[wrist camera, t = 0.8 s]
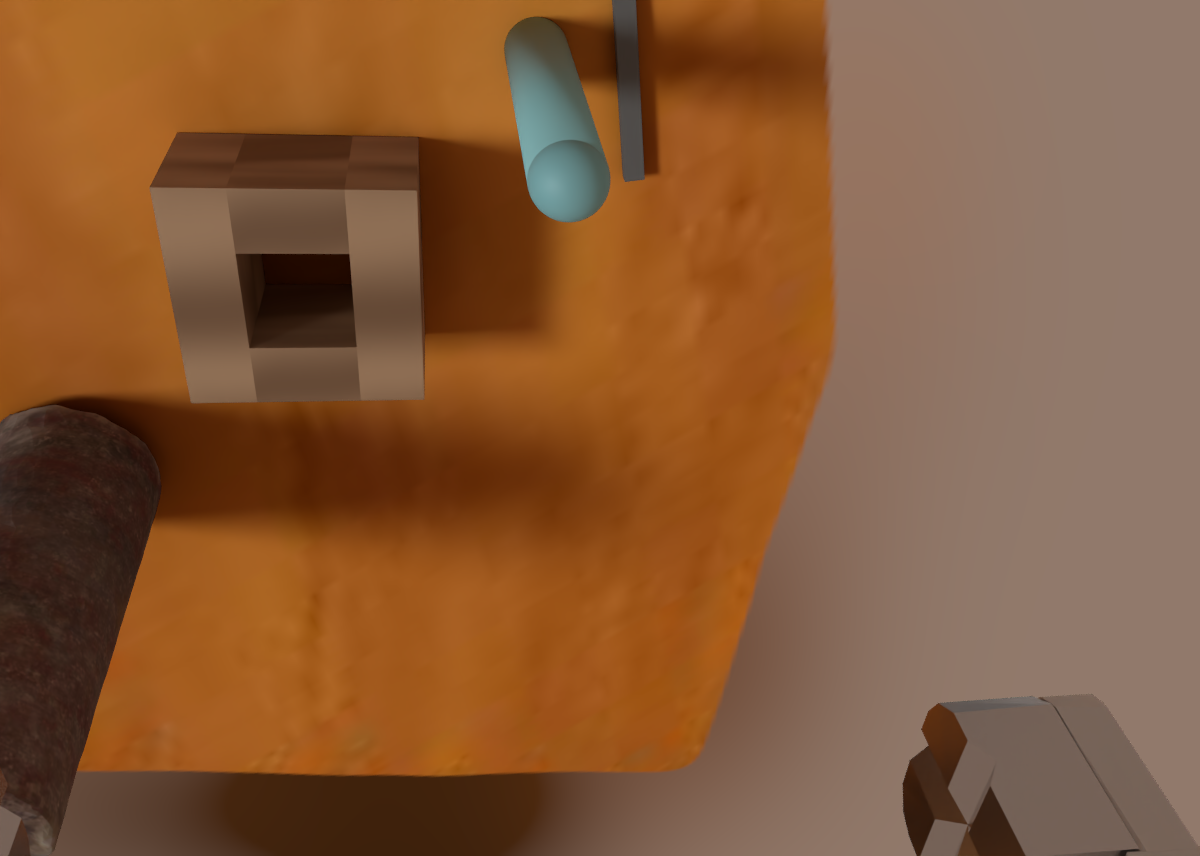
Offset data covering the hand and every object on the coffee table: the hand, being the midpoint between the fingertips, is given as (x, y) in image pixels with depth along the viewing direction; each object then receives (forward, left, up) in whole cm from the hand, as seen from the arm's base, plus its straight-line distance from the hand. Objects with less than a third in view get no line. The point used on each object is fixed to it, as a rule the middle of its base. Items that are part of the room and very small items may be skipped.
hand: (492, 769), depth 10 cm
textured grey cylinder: (+23, -17, -35) cm, 45 cm away
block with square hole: (+12, -6, -35) cm, 37 cm away
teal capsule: (+4, +3, -35) cm, 35 cm away
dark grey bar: (+1, +6, -35) cm, 35 cm away
